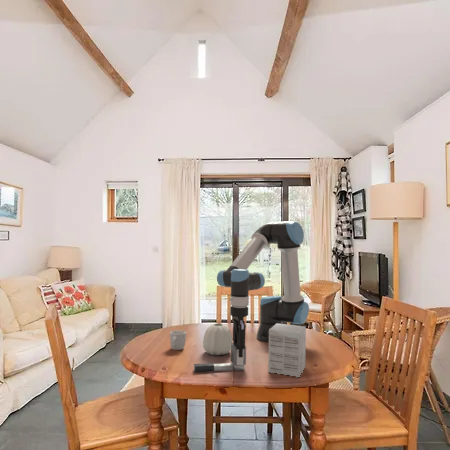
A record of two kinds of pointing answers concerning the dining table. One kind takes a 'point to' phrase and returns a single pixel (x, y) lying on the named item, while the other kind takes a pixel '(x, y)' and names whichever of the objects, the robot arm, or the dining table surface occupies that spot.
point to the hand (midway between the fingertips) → (238, 362)
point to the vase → (217, 340)
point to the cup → (177, 339)
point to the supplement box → (287, 349)
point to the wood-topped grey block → (234, 354)
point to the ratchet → (217, 367)
